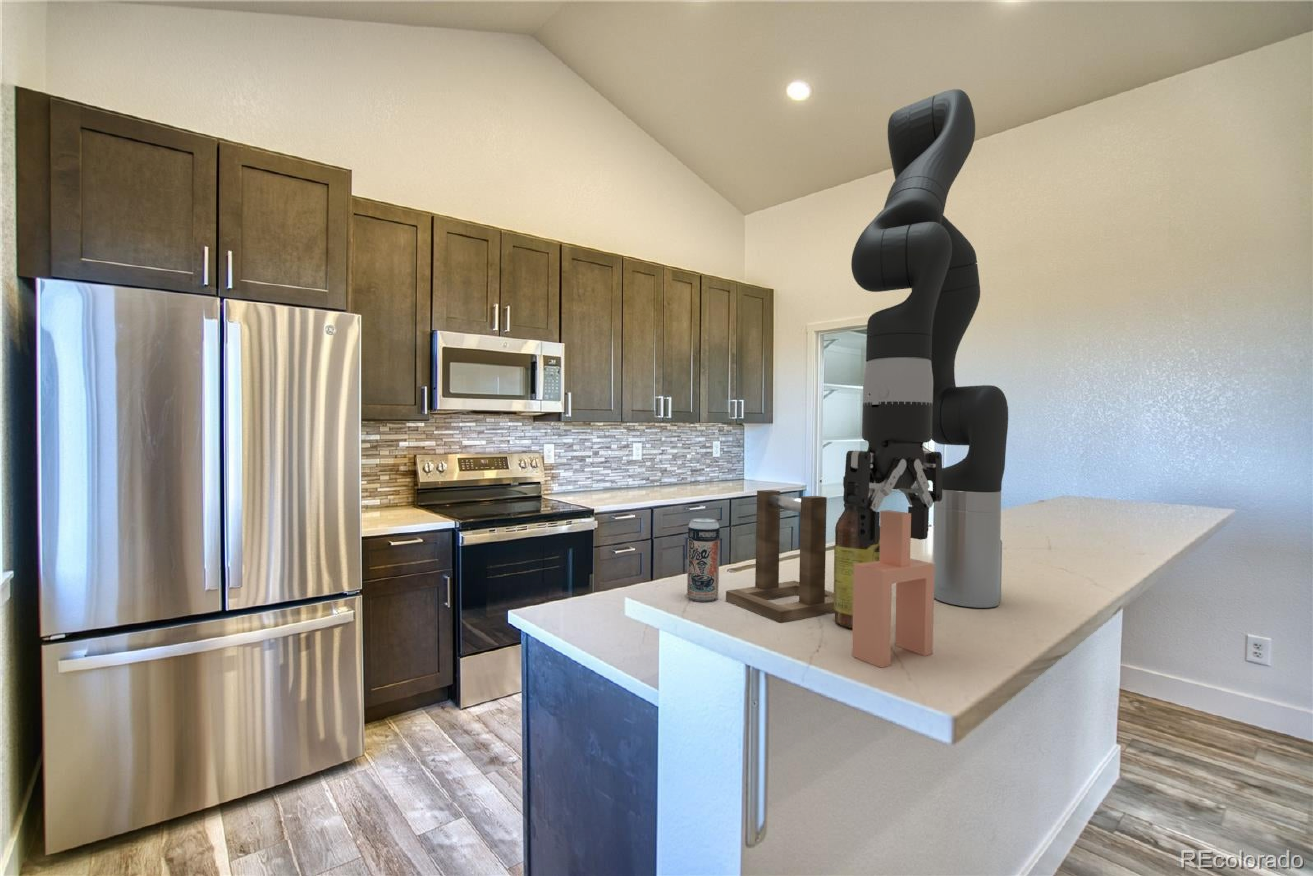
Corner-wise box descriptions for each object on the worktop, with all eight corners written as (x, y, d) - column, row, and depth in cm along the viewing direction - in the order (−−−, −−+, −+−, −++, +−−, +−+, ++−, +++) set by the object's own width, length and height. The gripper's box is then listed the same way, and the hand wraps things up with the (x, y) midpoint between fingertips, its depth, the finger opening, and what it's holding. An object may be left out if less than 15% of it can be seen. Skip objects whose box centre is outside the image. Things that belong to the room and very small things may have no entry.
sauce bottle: (886, 633, 77) (889, 478, 77) (835, 629, 78) (838, 477, 78) (877, 618, 83) (880, 475, 83) (831, 615, 85) (833, 473, 84)
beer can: (685, 601, 90) (686, 521, 90) (688, 593, 95) (690, 517, 95) (717, 603, 89) (718, 522, 89) (719, 595, 94) (720, 518, 94)
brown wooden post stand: (794, 589, 98) (796, 488, 98) (852, 608, 88) (854, 495, 88) (725, 600, 91) (727, 491, 91) (780, 622, 80) (782, 499, 80)
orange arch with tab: (903, 643, 73) (905, 508, 73) (932, 653, 70) (935, 512, 70) (852, 655, 69) (854, 511, 69) (881, 667, 65) (884, 516, 65)
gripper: (908, 404, 76) (905, 532, 76) (828, 399, 69) (824, 540, 69) (965, 402, 70) (961, 542, 70) (882, 395, 62) (879, 551, 62)
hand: (893, 541), depth 69 cm, fingers open, 8 cm apart
